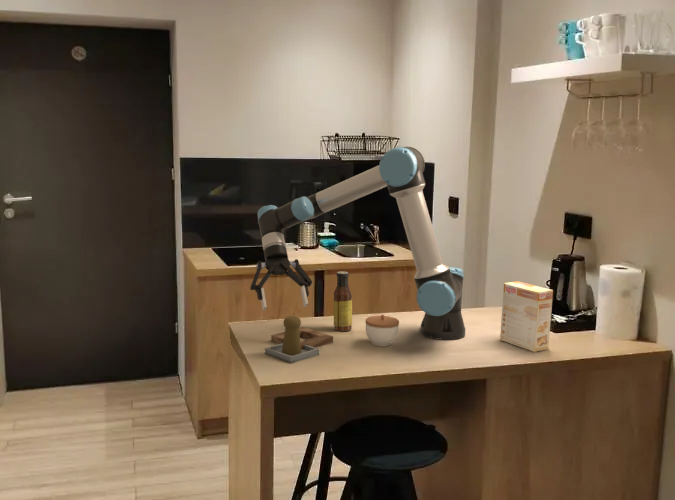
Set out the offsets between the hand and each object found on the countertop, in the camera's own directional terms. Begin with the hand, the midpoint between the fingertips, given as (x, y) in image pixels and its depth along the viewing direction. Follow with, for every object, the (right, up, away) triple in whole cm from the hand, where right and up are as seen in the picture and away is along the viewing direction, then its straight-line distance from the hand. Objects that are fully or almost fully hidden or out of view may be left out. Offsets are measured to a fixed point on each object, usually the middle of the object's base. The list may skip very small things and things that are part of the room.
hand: (285, 307), depth 225 cm
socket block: (+5, -11, +2) cm, 12 cm away
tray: (+3, -13, -11) cm, 17 cm away
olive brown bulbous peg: (+3, -13, -11) cm, 17 cm away
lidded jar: (+31, -12, +3) cm, 33 cm away
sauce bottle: (+18, -9, +17) cm, 26 cm away
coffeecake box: (+77, -13, +6) cm, 78 cm away
